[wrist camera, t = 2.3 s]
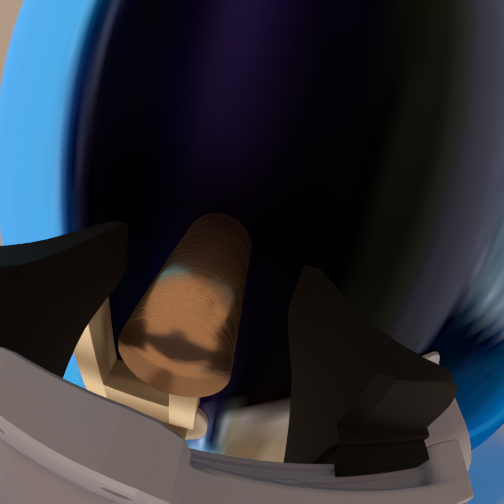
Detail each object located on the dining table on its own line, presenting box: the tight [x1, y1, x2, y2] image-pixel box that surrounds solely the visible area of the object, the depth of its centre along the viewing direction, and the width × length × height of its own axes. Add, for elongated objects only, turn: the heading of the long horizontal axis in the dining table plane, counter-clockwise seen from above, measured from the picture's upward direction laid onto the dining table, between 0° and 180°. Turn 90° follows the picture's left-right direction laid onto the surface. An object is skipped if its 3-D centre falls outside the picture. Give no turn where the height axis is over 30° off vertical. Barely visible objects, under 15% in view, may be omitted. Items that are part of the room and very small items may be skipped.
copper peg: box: [118, 213, 252, 398], centre depth 10 cm, size 3×3×7 cm
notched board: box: [74, 296, 200, 430], centre depth 15 cm, size 10×8×2 cm
